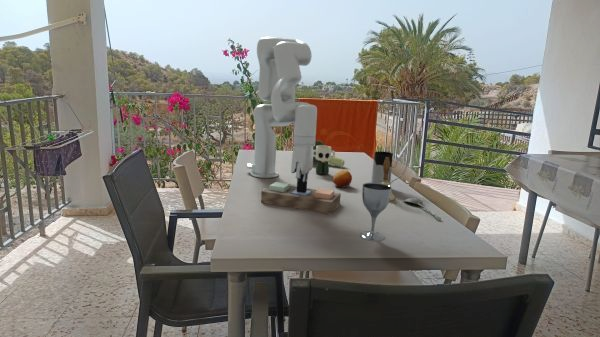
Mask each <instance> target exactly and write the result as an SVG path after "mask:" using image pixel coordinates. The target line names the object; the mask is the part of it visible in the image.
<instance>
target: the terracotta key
mask: <svg viewBox="0 0 600 337" xmlns="http://www.w3.org/2000/svg"><path fill="white" fill-rule="evenodd" d="M315 190H316V191H315V192H314V197H317V198H323V199H330V200H331V199H332V198H333V197H334V192H335V190H333V189H326V188H320V187H319V188H317V189H315Z"/></svg>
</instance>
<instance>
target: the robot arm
mask: <svg viewBox="0 0 600 337" xmlns="http://www.w3.org/2000/svg"><path fill="white" fill-rule="evenodd" d="M256 55H257V56H256V57H257V60H258V64H259V72H258V73H259V76H258V97H259V99H260V100H261V101H264V102H270V103H264V104H263V103H262V104H257V105H256V106H255V107H254V109H253V114H252V115H253V120H254V121H253V123H254V156H253V157H254V159H253V161H254V162H253V164H252V163H247V164H246V169H250V170H251V171H250V175H251V176H252V177H255V178H262V179H263V178H264V179H269V178H270V179H271V178H272V179H273V178H276V177H278V176H279V172H278V171H277V170H276V162H277V161H276V160H277V159H276V158H277V135H276V132H275V131H274V129H273V128H272V127H288V126H290V125H291V124H293V126H294V127H293V150H292V155H291V156H292V157H291V164H290V165H291V166H290V173H291V174H295V178H296V187H297V192H302V193H305V192H306V191H307V188H308V180H309V178H308V177H309V173H310V172H311V171H312V170H313V167H314V163H313V146H315V141H316V138H317V137H316V135H317V121H318V120H317V118H318V108H317V106H316V105H314V104H310V103H309V102H302V101H295V100H296V87H295V86H297V85H298V84H299V83H300V82H301V80H302V72H301V68H300V66H303V67H304V66H305V67H306V66H308V65H310V63H311V61H312V50H311V47H310V46H309V44H308V43H306V42H304V41H301V40H299V39H293V38H283V37H275V36H264V37H261V38H260V39H259V40H258V42H257V44H256Z"/></svg>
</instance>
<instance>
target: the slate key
mask: <svg viewBox="0 0 600 337" xmlns="http://www.w3.org/2000/svg"><path fill="white" fill-rule="evenodd" d="M310 193H311V191H308V190H307V191H306V192H305V193H302V192H297V189H296V190H294V191H293V192H291V194H298V195H304V196H308V195H309V194H310Z"/></svg>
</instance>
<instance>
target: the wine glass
mask: <svg viewBox="0 0 600 337" xmlns="http://www.w3.org/2000/svg"><path fill="white" fill-rule="evenodd" d="M391 191H392V185H391V186H389V185H386V184H382V183H371V182H365V183H363V184H362V190H361V192H362V193H361V196H362V203H363V205H364V207H365V208H366V210H367V211H368V213H369V215H370V217H371V229H370V230H369V231H368V230H367V231H365V230H364V231H362V232H360V233H359V237H360V238H362V239H364V240H366V241H370V242H381V241H384V240H385V238H386V237H385V235H383V234H381V233H379V232H377V231H375V226H376V225H375V224H376V221H377V218H378V217H379V215H380V214H381V213H382V212H383V211H384V210H385V209H386V208H387V207H388V205H389V203H390V201H389V200H390V195H391Z"/></svg>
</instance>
